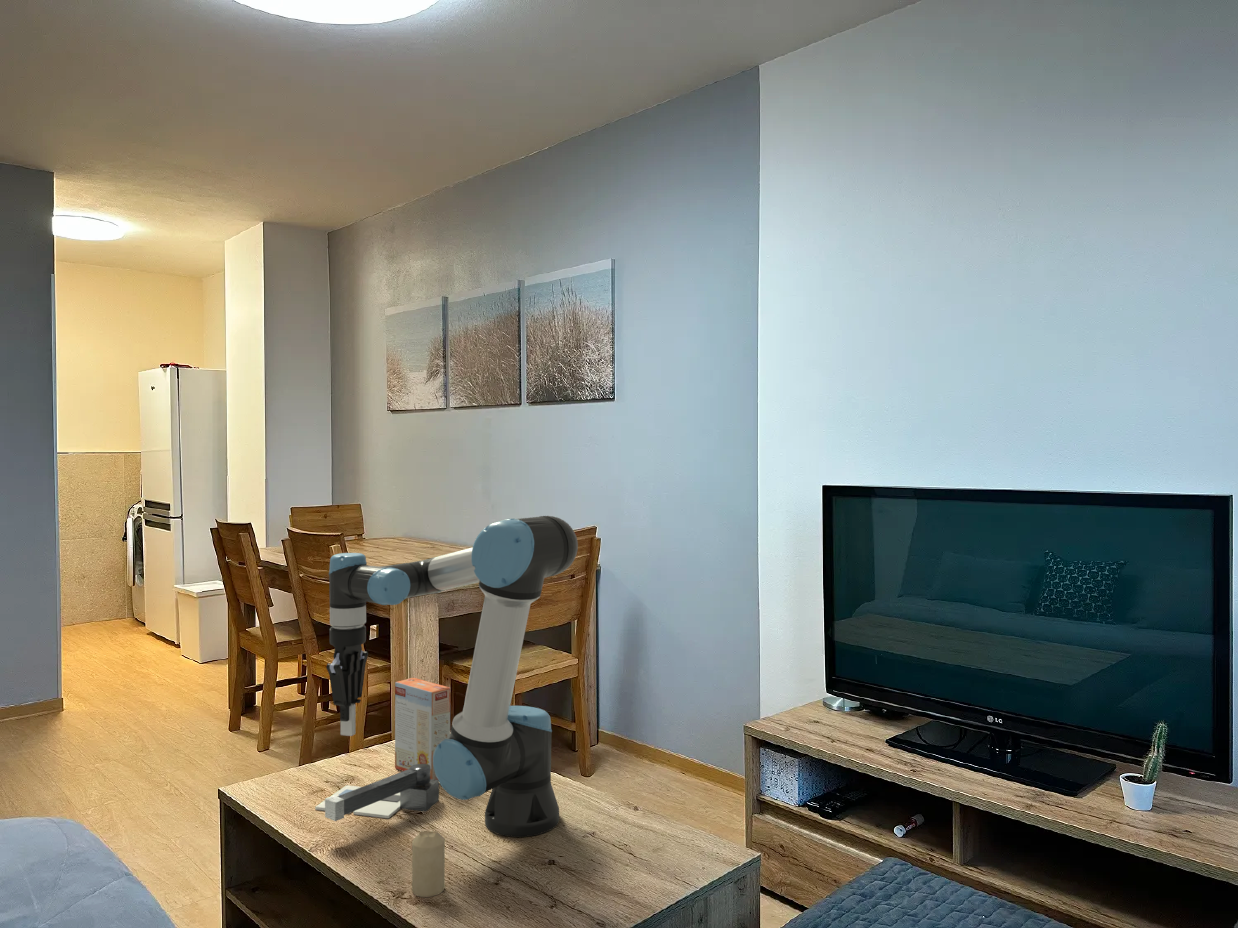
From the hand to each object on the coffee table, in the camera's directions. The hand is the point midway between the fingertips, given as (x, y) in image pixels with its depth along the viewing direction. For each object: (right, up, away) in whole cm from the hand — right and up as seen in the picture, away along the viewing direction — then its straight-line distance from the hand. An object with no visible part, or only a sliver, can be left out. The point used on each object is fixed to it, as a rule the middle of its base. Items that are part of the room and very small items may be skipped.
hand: (348, 734), depth 189 cm
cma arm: (+10, -10, -10) cm, 17 cm away
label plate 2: (+9, -15, -2) cm, 17 cm away
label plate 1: (0, -14, 0) cm, 14 cm away
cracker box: (+12, -14, +17) cm, 25 cm away
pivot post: (+16, -15, -2) cm, 22 cm away
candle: (+25, -16, -37) cm, 48 cm away
